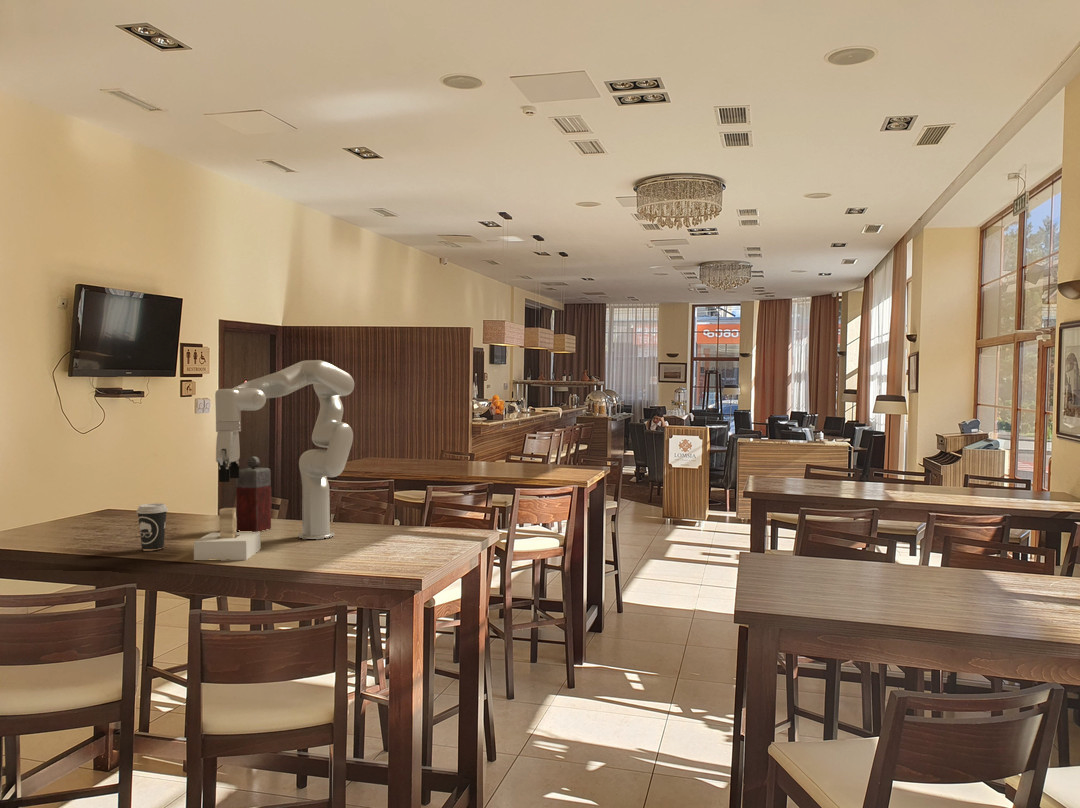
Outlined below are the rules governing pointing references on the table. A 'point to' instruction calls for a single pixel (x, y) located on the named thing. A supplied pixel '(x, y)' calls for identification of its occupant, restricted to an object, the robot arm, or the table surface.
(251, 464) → the red grey canister
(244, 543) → the block
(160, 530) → the coffee cup
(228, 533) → the peg
